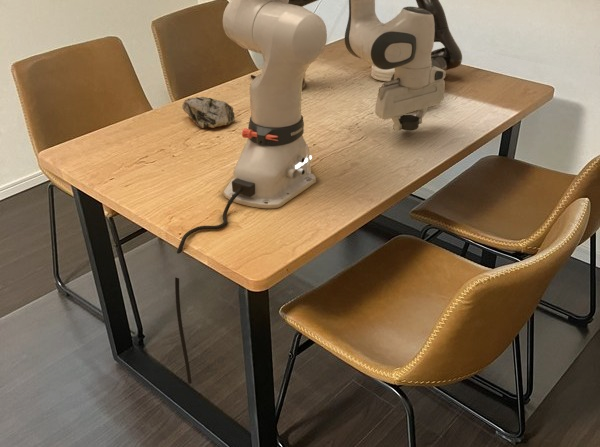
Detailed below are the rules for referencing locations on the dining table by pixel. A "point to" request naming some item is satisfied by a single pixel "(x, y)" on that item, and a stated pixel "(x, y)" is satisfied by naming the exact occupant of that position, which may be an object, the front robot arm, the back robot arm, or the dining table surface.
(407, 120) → the lid
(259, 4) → the front robot arm
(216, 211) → the dining table surface
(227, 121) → the rock
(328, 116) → the dining table surface
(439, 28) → the back robot arm
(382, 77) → the cream short cylinder
